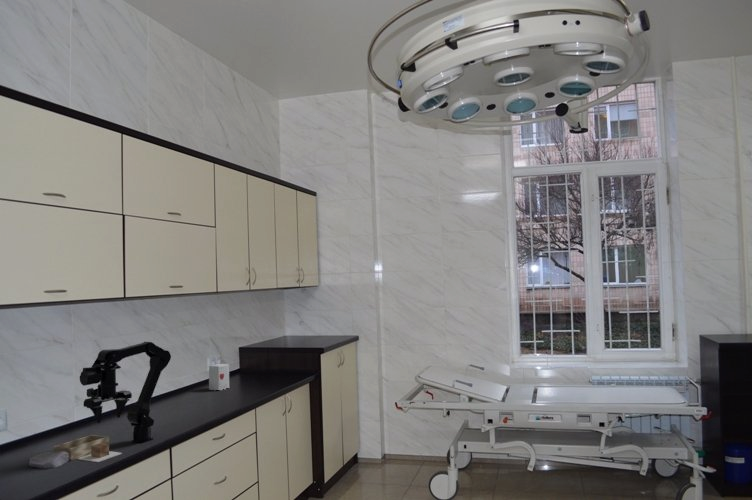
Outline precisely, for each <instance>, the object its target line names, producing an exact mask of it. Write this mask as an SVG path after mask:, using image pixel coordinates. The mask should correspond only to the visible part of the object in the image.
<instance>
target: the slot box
mask: <svg viewBox="0 0 752 500" xmlns="http://www.w3.org/2000/svg"><path fill="white" fill-rule="evenodd" d="M99 443H102V444H109V445H110V436H107V435H99V434H98V435H96V434H90V435H87V436H84V437H81V438H77V439H74V440H70V441H67V442H64V443H61V444H57V445H54V446H53V453H55V452H59V451H66V452H68V453H69V456H70V457H69V461H71V462H72V461H74V460H79V459H78V458H81V457H84V456H87V455H90V454H91V446H93V445H96V444H99Z"/></svg>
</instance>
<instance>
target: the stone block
mask: <svg viewBox="0 0 752 500" xmlns="http://www.w3.org/2000/svg"><path fill="white" fill-rule="evenodd" d="M69 457H70V456H69V453H68V452H66V451H59V452H55V453H54V452H49V451H45V452H43V453H40V454H39V453H38V454H36V455H34V456H33V457H31V458H30V459H29V462H28V464H29V466H30V467H31V468H38V469H53V468H57V467H60V466H62V465H64V464H66V463H67V462H69V461H70V460H69Z"/></svg>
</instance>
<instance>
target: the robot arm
mask: <svg viewBox="0 0 752 500" xmlns="http://www.w3.org/2000/svg"><path fill="white" fill-rule="evenodd" d="M143 353H145V355H146V356H148V357H149V371H148V373H147V375H146V378H145V381H144V383H143V387H142V388H141V391H140V393H139V397H138V399H137V401H136V402H135V403H130V404H129V408H128V411H127V412H126V414H127V416H126V418H127V420H128V422H129V423H130V426H131V427H133V432H132V437H133V438H132V440H131V442H132V443H141V444H143V443H146V442H148V441H151V440H154V439H155V438H154V437H152V429H151V428H152V426H153V427H154V424H155V420H154V419H153V418H152V417H151V416H150V413H151V411H150V410H151V409H150V408H151V407H150V403H151V400H152V398H153V395H154V392H155V389H156V387H157V384H158V382H159V380H160V376H161V373H162V371H163V370H165V368H166V367H168V365H169V363H170V361H171V358H172V355H171V352H170V351H169V350H166V349H164V348H162V347H160V346H159V345H156V344H155V343H154V342H152V341H144V342H141V343H137V344H133V345H129V346H126V347H122V348H110V349H101V350H100V351H99V352H98V355H97V357H96V358H95V361H94V362H93V363H92V365H91V367H82V371H81V373H80V376H79V383H80V384H81V385H82V386H83V387H84V386H89V385H94V384H98V385H97V388H95V389H94V388H93V387H90V388H87V389H86V397H87V398H86V399H84V401H83V407H85V408H87V409H89V410H90V411H91V412H92V414H93V416H94V417H95V420H96V423H97V424H101V420H102V412H103V405H102V404H103V403H106V402H109V401H114V402H115V405H116V406H115V408H116V410H115V411H116V418H118V419H119V418H120V417H121V415H122V413H123V410H124V409H125V407H126V405H127V403H128V402H129V401H130V399H132V398H133V394H132V392H131V391H130V390H119V391H117V386H118V387H119V382H117V379H116V378H117V375H116V374H117V370H119V369H122V367H121V365H119V364H118V363H119V362H121V361H122V360H123V359H125V358H129V357H132V356H135V355H139V354H143Z"/></svg>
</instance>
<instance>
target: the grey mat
mask: <svg viewBox="0 0 752 500" xmlns="http://www.w3.org/2000/svg"><path fill="white" fill-rule="evenodd" d="M122 454H123V452H117V451H110V450H109V455H107V456H104V457H101V458H98V457H91V454H90V455H87V456H84V457H81V458H78V459H77V460H79V461H80V460H81V461H85V462H94V463H99V462H103V461H106V460H108V459H111V458H114V457H117V456H119V455H122Z"/></svg>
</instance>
